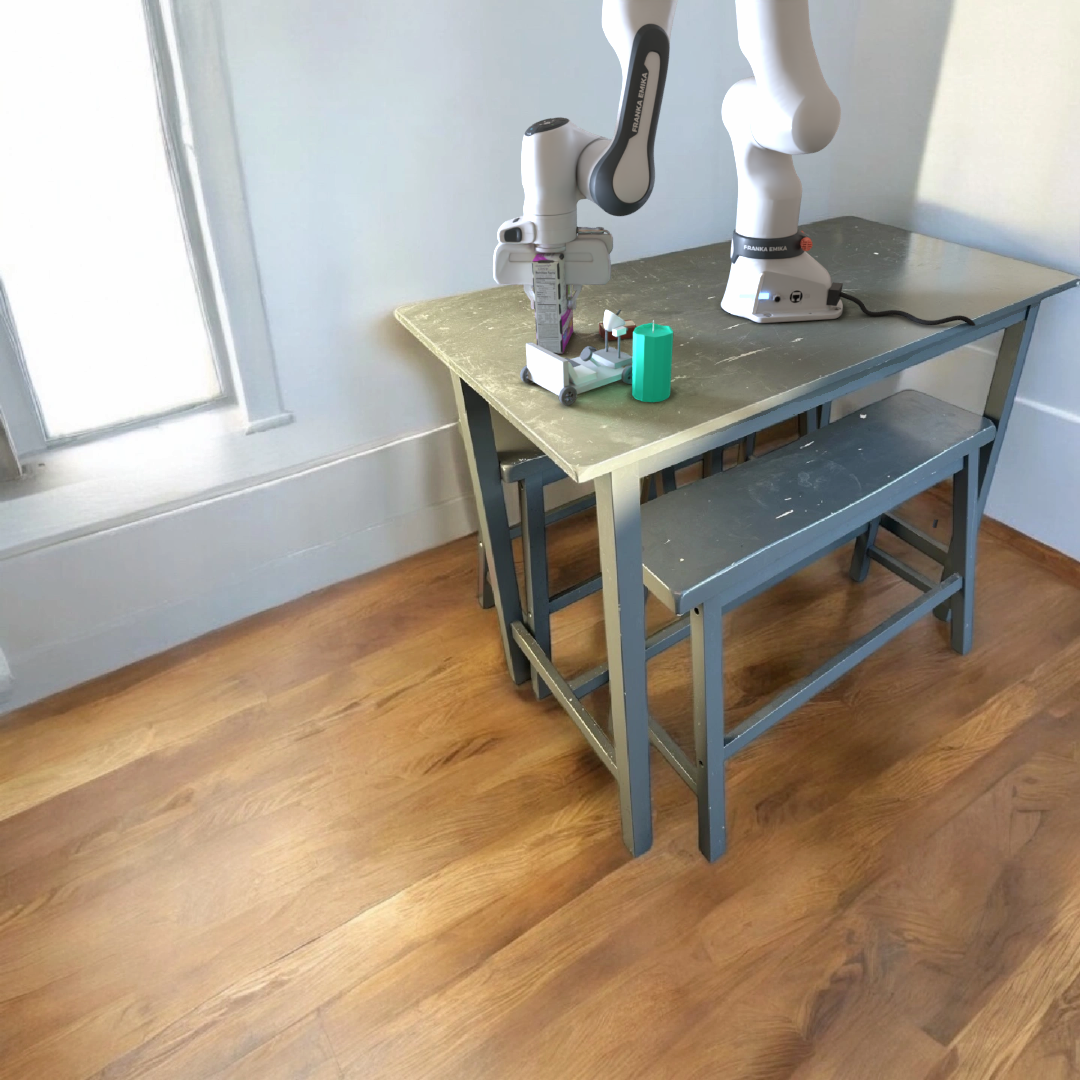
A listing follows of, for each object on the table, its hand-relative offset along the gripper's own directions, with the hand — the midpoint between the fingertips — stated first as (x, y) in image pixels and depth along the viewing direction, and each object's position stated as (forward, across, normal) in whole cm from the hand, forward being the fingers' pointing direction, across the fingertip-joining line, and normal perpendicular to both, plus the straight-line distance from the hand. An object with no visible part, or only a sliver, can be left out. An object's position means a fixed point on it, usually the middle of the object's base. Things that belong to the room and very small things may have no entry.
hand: (553, 308), depth 150 cm
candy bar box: (+6, 0, 0) cm, 6 cm away
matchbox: (+6, -11, -4) cm, 13 cm away
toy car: (+6, -7, +16) cm, 19 cm away
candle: (+6, -18, +21) cm, 28 cm away
